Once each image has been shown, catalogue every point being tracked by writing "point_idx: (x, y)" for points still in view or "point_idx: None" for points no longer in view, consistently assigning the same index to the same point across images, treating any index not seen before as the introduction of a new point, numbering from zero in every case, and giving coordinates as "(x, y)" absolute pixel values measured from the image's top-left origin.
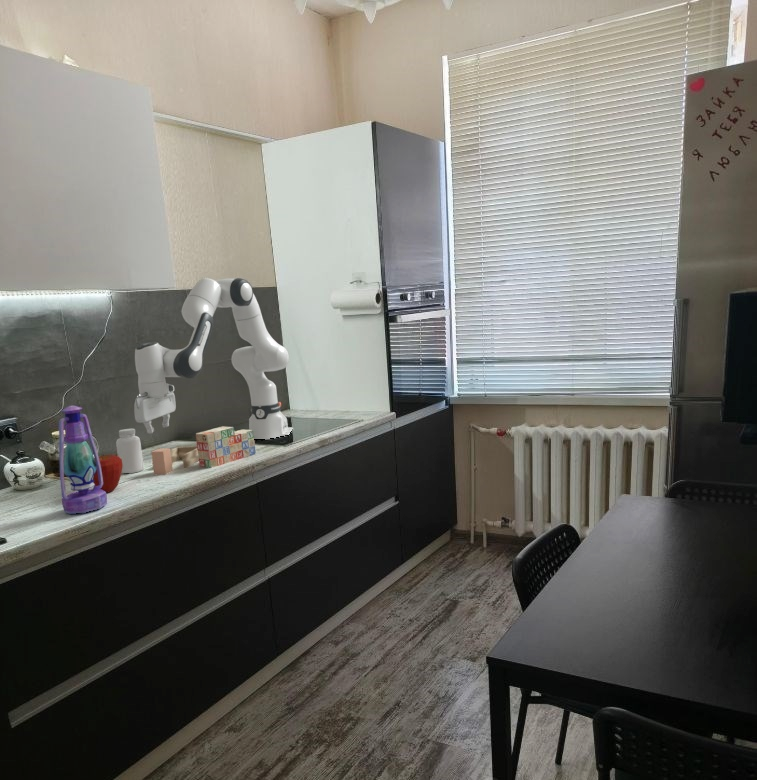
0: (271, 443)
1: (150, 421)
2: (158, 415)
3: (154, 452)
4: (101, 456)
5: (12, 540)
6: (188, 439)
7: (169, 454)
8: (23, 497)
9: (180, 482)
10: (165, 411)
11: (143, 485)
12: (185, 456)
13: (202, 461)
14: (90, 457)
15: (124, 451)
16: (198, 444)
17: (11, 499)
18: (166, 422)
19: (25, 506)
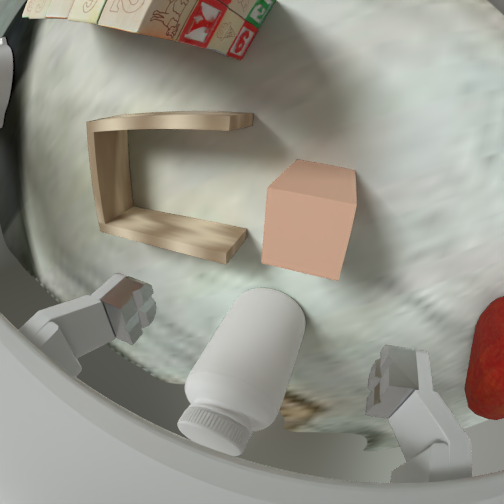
0: (33, 23)
1: (448, 466)
2: (273, 499)
3: (342, 260)
4: (501, 409)
5: None
6: (28, 255)
7: (291, 180)
8: None
9: (495, 72)
10: (46, 409)
11: (494, 216)
12: (230, 115)
13: (242, 35)
14: None
15: (287, 384)
16: (194, 28)
17: None
18: (119, 308)
19: None
